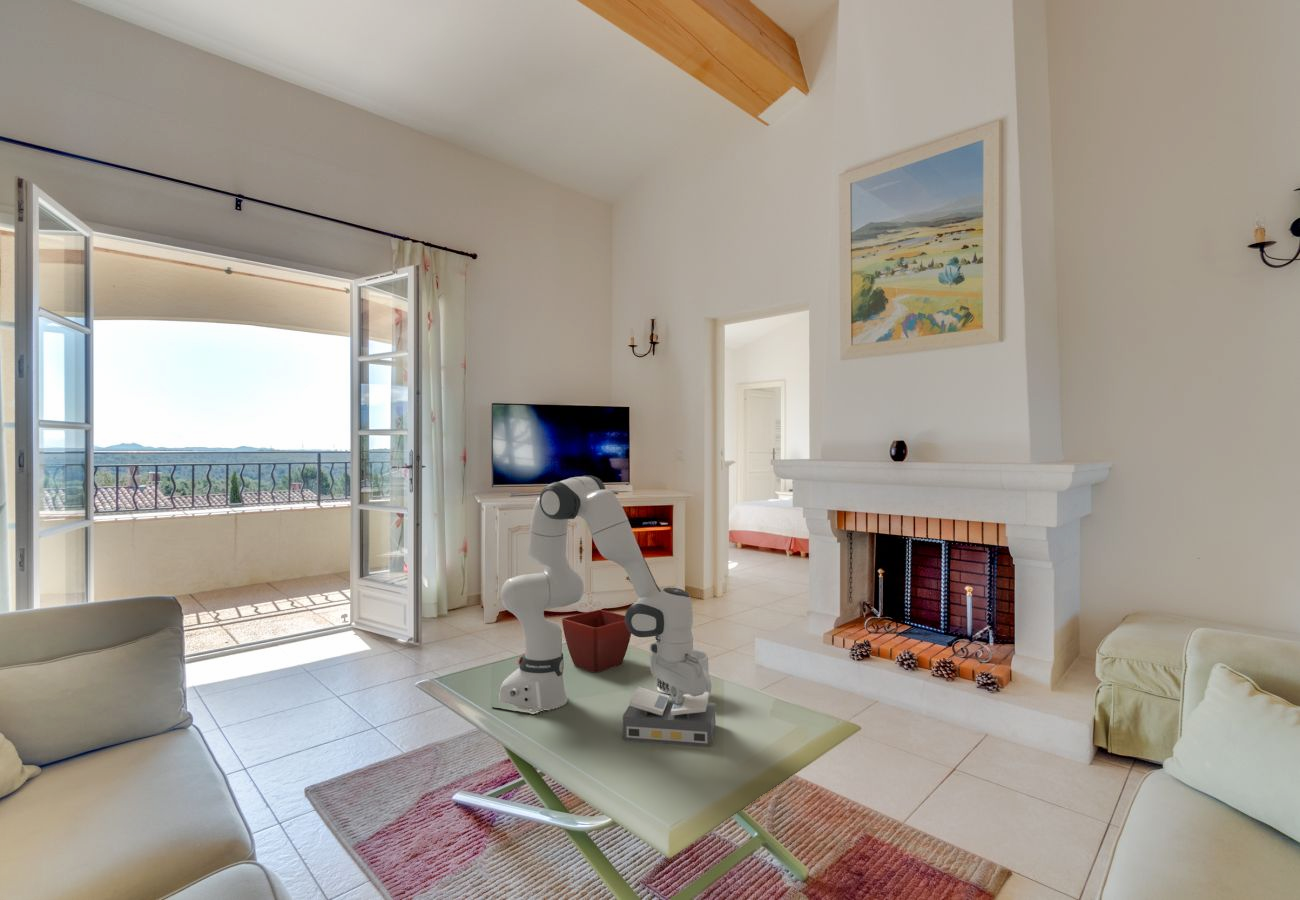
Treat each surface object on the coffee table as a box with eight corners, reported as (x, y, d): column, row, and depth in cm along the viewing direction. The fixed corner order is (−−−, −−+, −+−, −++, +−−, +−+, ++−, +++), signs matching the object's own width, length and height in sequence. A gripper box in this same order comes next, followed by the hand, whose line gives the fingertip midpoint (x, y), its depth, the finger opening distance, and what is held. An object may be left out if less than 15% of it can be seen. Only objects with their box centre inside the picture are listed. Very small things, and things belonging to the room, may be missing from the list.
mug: (724, 703, 179) (723, 659, 179) (695, 712, 173) (694, 666, 173) (693, 688, 191) (693, 647, 192) (665, 696, 185) (665, 653, 185)
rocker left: (629, 705, 157) (629, 701, 157) (637, 690, 167) (638, 686, 167) (662, 715, 155) (663, 711, 155) (668, 699, 166) (669, 695, 166)
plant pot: (635, 664, 216) (635, 617, 216) (595, 678, 202) (595, 627, 202) (600, 653, 229) (600, 609, 229) (560, 665, 215) (560, 618, 215)
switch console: (622, 740, 155) (622, 711, 156) (633, 719, 168) (633, 693, 169) (711, 747, 151) (711, 717, 151) (715, 724, 164) (715, 698, 164)
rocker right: (671, 715, 154) (670, 711, 155) (677, 699, 165) (676, 695, 165) (705, 711, 153) (704, 707, 153) (709, 695, 164) (708, 691, 164)
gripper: (710, 657, 153) (711, 712, 153) (664, 639, 170) (665, 688, 170) (690, 662, 150) (691, 718, 149) (646, 643, 167) (646, 693, 166)
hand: (677, 702), depth 159 cm, fingers closed, pressing on rocker right
